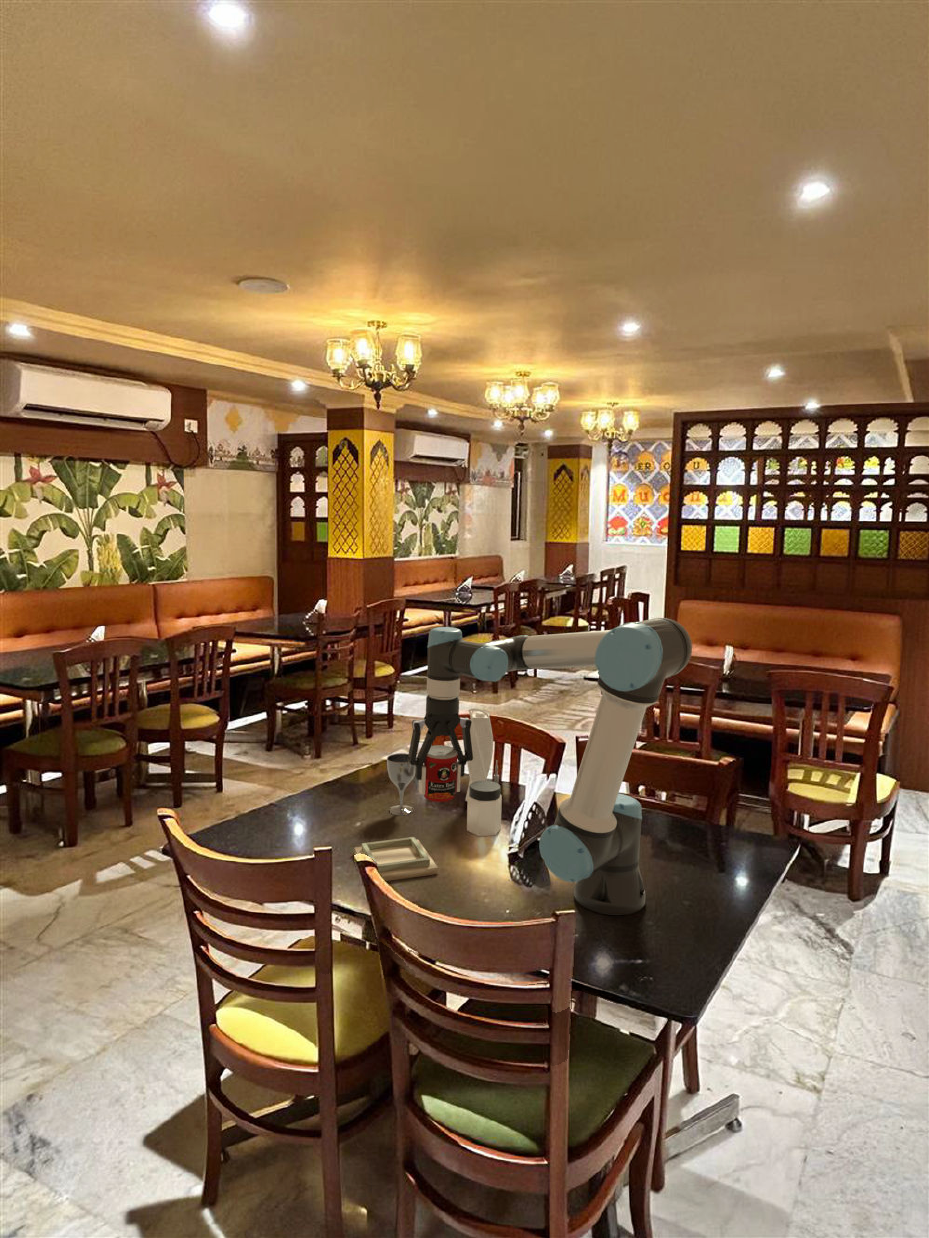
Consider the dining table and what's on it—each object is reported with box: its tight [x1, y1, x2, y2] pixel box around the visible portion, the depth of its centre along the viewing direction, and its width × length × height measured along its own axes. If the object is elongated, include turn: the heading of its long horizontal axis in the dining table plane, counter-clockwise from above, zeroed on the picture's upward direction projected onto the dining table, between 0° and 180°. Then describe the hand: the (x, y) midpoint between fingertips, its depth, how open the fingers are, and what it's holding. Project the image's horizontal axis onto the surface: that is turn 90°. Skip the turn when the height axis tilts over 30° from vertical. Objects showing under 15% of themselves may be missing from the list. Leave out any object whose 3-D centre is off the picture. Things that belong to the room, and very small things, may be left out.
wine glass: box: [386, 752, 415, 816], centre depth 220 cm, size 8×8×15 cm
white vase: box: [465, 708, 500, 803], centre depth 227 cm, size 8×8×28 cm
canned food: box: [423, 744, 458, 803], centre depth 186 cm, size 8×8×11 cm
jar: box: [466, 780, 503, 837], centre depth 209 cm, size 9×8×12 cm
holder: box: [353, 836, 439, 882], centre depth 189 cm, size 16×16×3 cm
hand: (439, 790), depth 186 cm, fingers closed on canned food, 8 cm apart
